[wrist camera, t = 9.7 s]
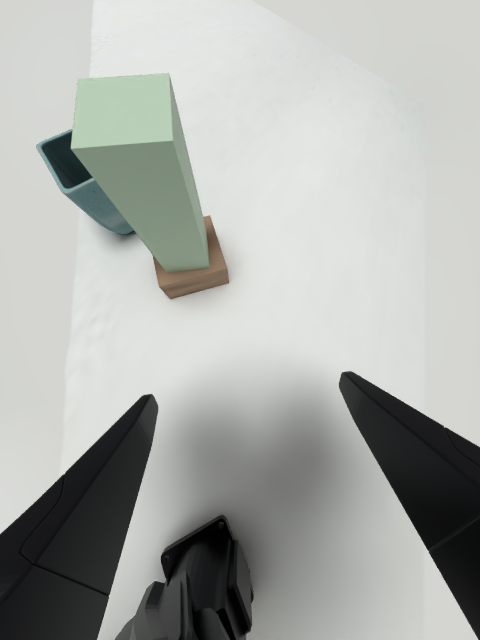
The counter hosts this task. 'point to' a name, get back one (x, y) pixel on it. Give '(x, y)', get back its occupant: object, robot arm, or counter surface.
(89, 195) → the flower pot
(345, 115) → the counter surface
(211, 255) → the walnut block
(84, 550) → the robot arm
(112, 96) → the sage pillar
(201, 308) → the counter surface
